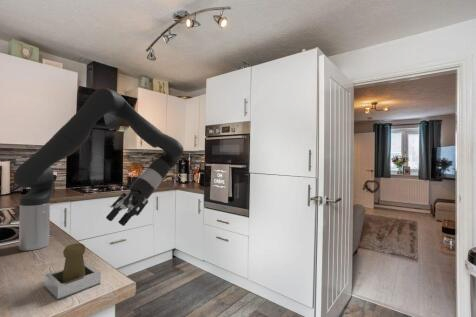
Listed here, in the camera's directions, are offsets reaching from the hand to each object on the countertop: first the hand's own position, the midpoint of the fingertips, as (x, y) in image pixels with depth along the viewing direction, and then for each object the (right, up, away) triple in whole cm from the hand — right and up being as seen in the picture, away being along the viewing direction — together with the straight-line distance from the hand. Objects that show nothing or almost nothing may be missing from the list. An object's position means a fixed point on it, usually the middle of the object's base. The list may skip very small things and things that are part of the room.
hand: (114, 221), depth 78 cm
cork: (-7, -15, -9) cm, 19 cm away
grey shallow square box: (-7, -16, -9) cm, 20 cm away
